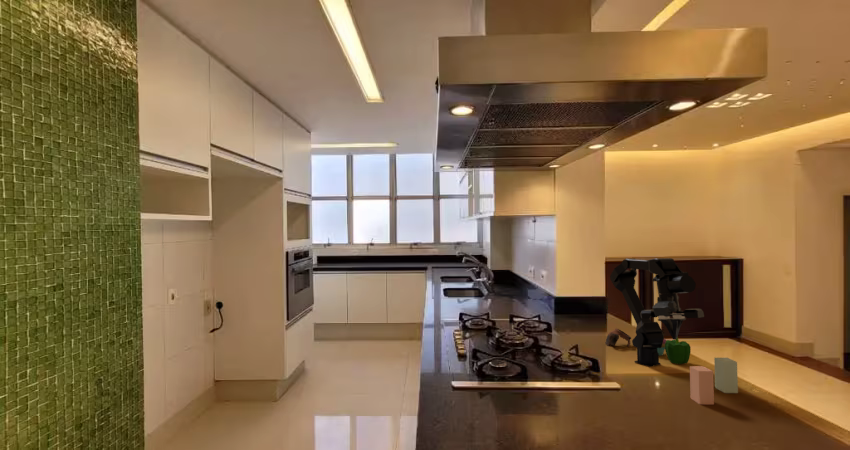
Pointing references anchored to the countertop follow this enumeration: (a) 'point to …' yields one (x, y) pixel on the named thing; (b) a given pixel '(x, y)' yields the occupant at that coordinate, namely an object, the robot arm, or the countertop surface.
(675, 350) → the bell pepper
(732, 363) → the sage block
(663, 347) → the cupcake
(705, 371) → the terracotta block
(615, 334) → the headphones
